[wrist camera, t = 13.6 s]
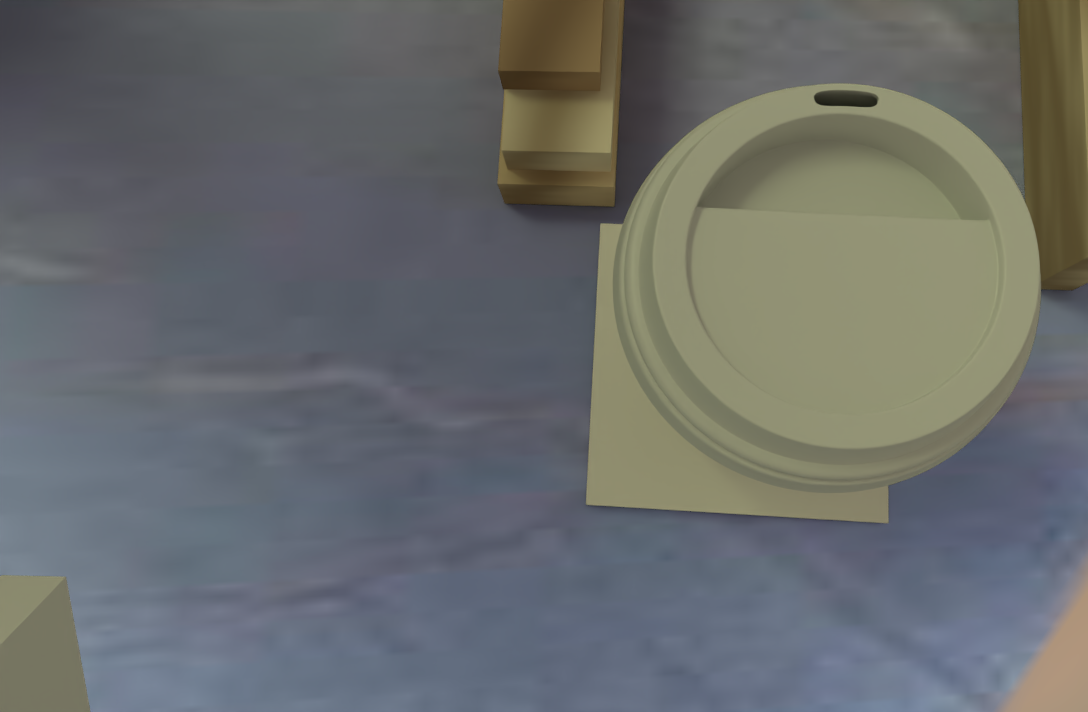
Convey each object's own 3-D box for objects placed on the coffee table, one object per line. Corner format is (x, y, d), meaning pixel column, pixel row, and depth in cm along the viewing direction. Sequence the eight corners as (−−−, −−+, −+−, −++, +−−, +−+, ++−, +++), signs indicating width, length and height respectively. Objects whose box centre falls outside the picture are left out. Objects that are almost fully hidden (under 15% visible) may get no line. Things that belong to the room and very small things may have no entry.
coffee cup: (909, 312, 33) (1155, 153, 18) (805, 542, 31) (974, 577, 17) (678, 209, 34) (728, -18, 19) (570, 426, 33) (535, 363, 18)
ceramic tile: (586, 504, 33) (585, 504, 32) (600, 229, 35) (600, 223, 34) (881, 522, 32) (888, 523, 31) (880, 238, 34) (886, 232, 33)
